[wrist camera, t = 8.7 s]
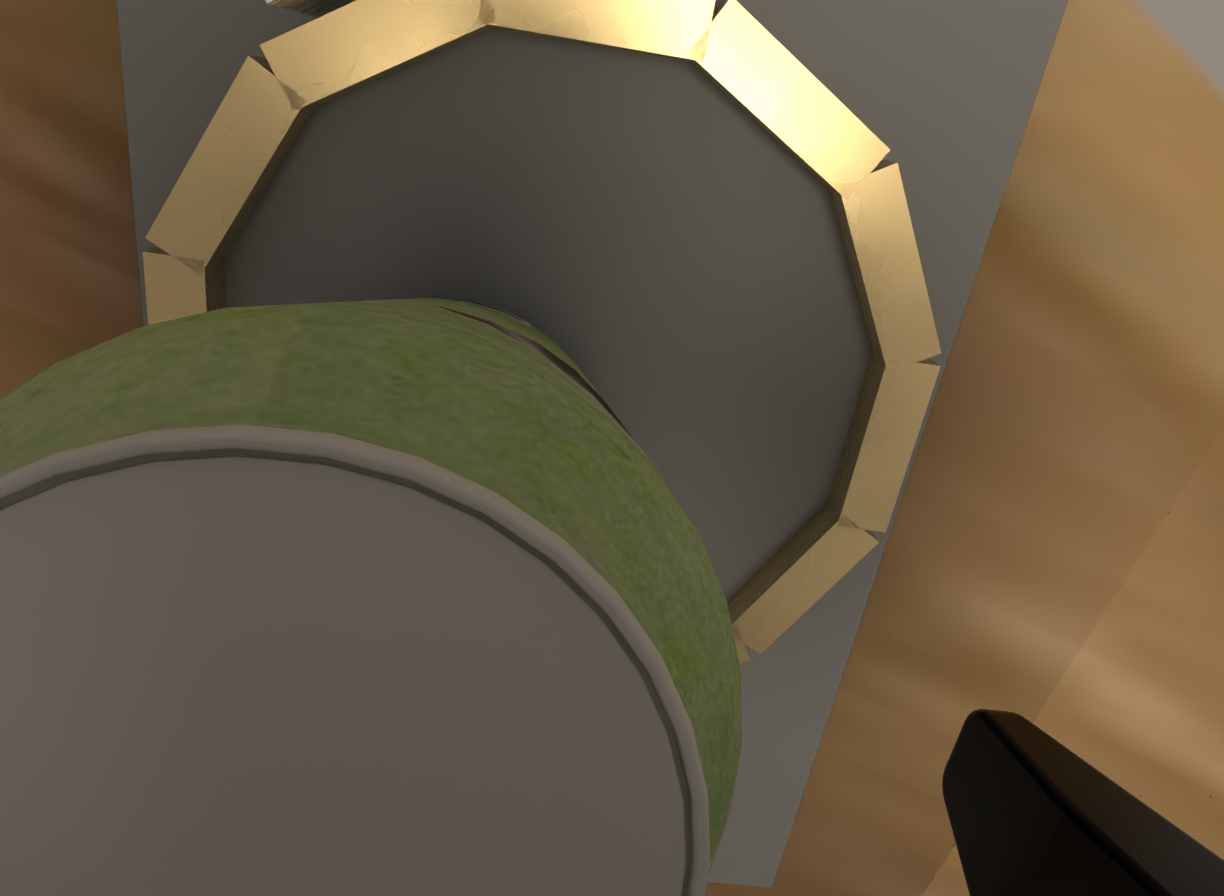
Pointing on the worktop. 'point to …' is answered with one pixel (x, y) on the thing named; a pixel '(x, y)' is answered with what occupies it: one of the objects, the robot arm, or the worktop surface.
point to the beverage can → (351, 619)
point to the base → (638, 257)
